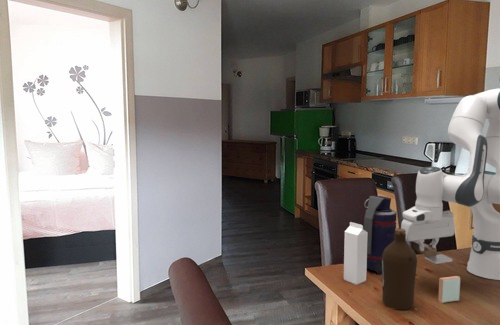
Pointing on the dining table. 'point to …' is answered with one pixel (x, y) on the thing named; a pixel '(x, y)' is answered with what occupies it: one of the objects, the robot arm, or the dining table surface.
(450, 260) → the turner
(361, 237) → the milk
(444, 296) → the tile
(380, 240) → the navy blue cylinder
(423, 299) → the dining table surface
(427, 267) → the dining table surface
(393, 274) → the olive oil
